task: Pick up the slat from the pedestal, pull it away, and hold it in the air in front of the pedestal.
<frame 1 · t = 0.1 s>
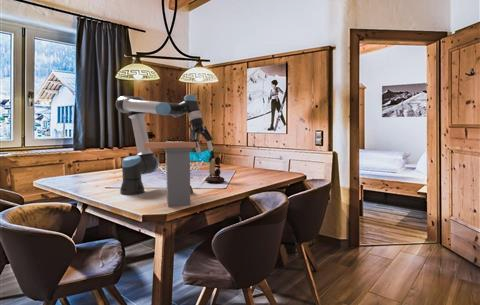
hand: (205, 151, 194), 28 cm above the table, tool tilted 20°, fingers open, 13 cm apart
pedestal: (178, 204, 177), on the table
rock: (185, 193, 204), on the table
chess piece: (214, 182, 243), on the table
slat: (170, 147, 173), point 32 cm above the table, touching pedestal
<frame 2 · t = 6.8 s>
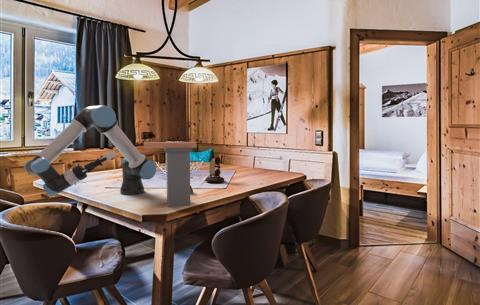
hand: (113, 153, 165), 30 cm above the table, tool pointing upward, fingers open, 13 cm apart
nothing on the table moved.
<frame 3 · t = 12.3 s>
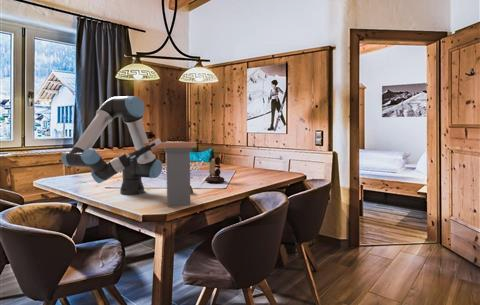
hand: (160, 140, 171), 36 cm above the table, tool pointing upward, fingers closed on slat, 4 cm apart
slat: (170, 147, 173), point 32 cm above the table, touching gripper, pedestal
everything else where it was.
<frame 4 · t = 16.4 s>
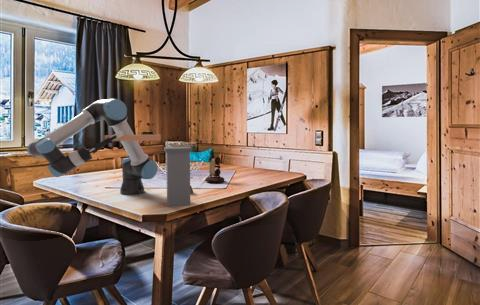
hand: (122, 132, 165), 40 cm above the table, tool pointing upward, fingers closed on slat, 4 cm apart
slat: (133, 140, 167), point 36 cm above the table, touching gripper
everything else where it was.
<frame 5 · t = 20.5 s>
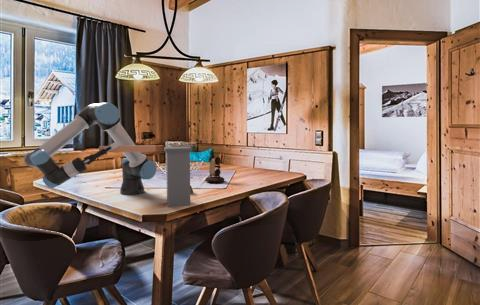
hand: (117, 143, 165), 35 cm above the table, tool pointing upward, fingers closed on slat, 4 cm apart
slat: (128, 151, 167), point 30 cm above the table, touching gripper
everything else where it was.
at the end: the gripper is holding slat; slat touching gripper; slat inside the target area (0.0 cm from its centre), point 30.5 cm above the table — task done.
